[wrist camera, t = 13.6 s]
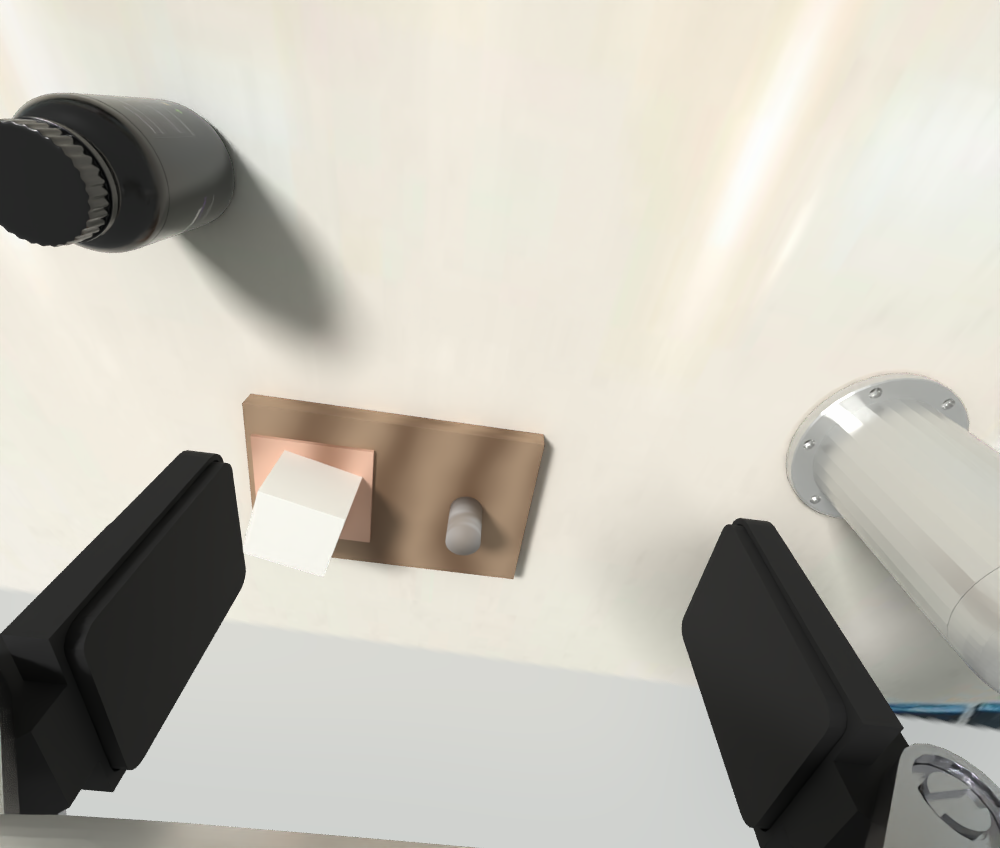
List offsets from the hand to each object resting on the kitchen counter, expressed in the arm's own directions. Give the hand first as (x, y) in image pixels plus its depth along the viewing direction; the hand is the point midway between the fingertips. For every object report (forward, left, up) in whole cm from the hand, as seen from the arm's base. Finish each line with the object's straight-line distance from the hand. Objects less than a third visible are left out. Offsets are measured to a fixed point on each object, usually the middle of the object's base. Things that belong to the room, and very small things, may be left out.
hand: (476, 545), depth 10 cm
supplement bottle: (+19, -2, -28) cm, 34 cm away
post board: (+5, +20, -28) cm, 35 cm away
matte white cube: (+11, +20, -26) cm, 35 cm away
